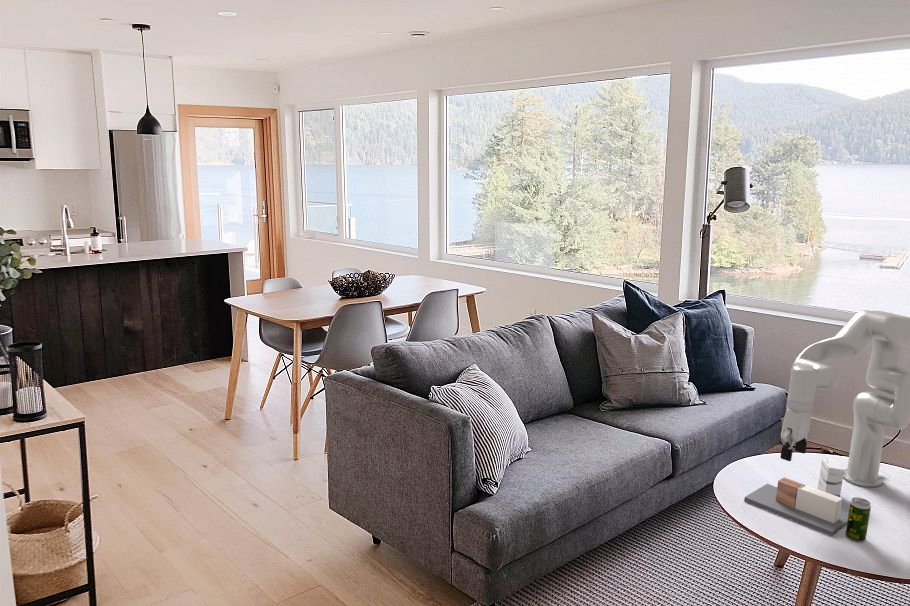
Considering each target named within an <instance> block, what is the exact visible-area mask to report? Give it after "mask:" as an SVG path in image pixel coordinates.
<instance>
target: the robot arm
mask: <svg viewBox="0 0 910 606" xmlns="http://www.w3.org/2000/svg"><path fill="white" fill-rule="evenodd" d="M869 341H871V344H872V346H871V347H872V350H871V354H870V358H869V361H868V366H867V370H866V374H865V383H866V385H867V386H868V387H870V388H872V389H873V390H877V391H880V392H883V393H887V394H890V395H892V396H894V398H891V397H888V396H886V395H882V394H879V393H877V392H873V391H862V392H859V393H858V394H857V395H856V396H855V397H854V400H853V402H852V403H853V404H852V407H853V409H852V411H853V427H852V428H853V429H852V434H851V441H850V449H849V454H848V455H849V456H848V462H847V468H845V469H843V470H844V473H843V480H845V481H847V482H848V483H851V484H853V485H856V486H861V487H865V488H866V487H867V488H877V487H881V486H882V484H883V478H882V477H880V475H879V472H880V466H881V458H882V452H883V446H884V440H885V431H884V427H887V428H890V429H894V430H897V431H898V430H901V431H902V430H904V429H905V428H907V427H908V425H909V424H910V369H908V368H905V367H901V366H900V365H899V364H900V360H901V356H902V349H901V344H904V345H907V344H908V345H909V344H910V317H909V316H905V315H901V314H896V313H893V312H887V311H882V310H867V309H864V310H859V311H857V312H856V313H855V314H854V315H852V317H850V319H849V320H848V321H847V322H846V323H845V325H844V326H842V328H841V329H840V330H839V331H838V332H837V333H836V334H835V335H834V336H833V337H829V338H827V339H823V340H820V341H818V342H816V343H813V344H811V345H809V346H807V347H806V348H805V349H804V350H803V351H801V353H800V354H799V355H798V356H797V357H796V358H795V360H794V361H793V363H792V365H791V368H790V369H791V370H790V379H789V385H788V393H787V401H786V411H785V414H784V418H783V423H782V426H781V432H780V438H781V442H780V443H781V451H780V459H781V460H784V461H787V462H791V461H792V457H793V446H795V447H794V451H795V452H797V453H800V454H806V451H807V447H808V446H807V444H808V440H809V438H808V436H809V434H810V430H811V421H812V420H811V419H812V413H813V412H814V407H815V405H814V403H815V397H816V392H817V391H816V390H831V389H833V388H835V387H836V386H838V384H839V383H840V380H841V373H840V371H839V369H837V368H836V367H835V366H833V365H830V364H826V363H823V362H821V361H823V360H829V359H842V358H843V359H844V358H850V357H851V358H852V357H855V356H857V355H858V354H859V353H860V351H862V350H863V349H864V347H865V346H866V345H867V344H868V343H869ZM883 426H884V427H883ZM794 444H795V445H794Z"/></svg>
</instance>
